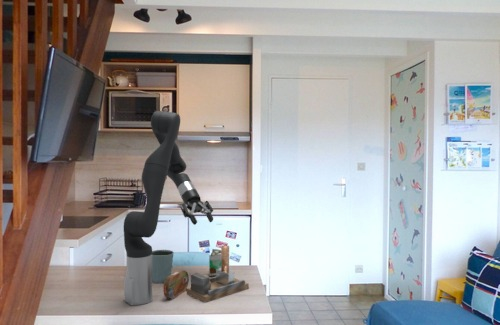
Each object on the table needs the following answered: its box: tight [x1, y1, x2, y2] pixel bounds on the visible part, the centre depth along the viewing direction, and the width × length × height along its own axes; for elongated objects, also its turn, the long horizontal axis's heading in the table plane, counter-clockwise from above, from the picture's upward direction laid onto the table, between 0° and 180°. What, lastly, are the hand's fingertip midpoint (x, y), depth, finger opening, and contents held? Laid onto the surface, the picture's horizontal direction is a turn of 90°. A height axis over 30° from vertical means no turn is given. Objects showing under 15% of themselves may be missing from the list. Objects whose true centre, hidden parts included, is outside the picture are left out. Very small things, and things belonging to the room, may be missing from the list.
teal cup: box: [152, 249, 174, 284], centre depth 166 cm, size 10×10×12 cm
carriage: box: [216, 245, 235, 285], centre depth 156 cm, size 3×8×15 cm, turn 43°
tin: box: [162, 269, 190, 300], centre depth 150 cm, size 15×3×8 cm, turn 159°
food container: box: [208, 248, 221, 278], centre depth 175 cm, size 12×6×10 cm, turn 179°
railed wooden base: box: [186, 272, 250, 303], centre depth 153 cm, size 22×12×8 cm, turn 133°
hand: (203, 222), depth 166 cm, fingers open, 8 cm apart
